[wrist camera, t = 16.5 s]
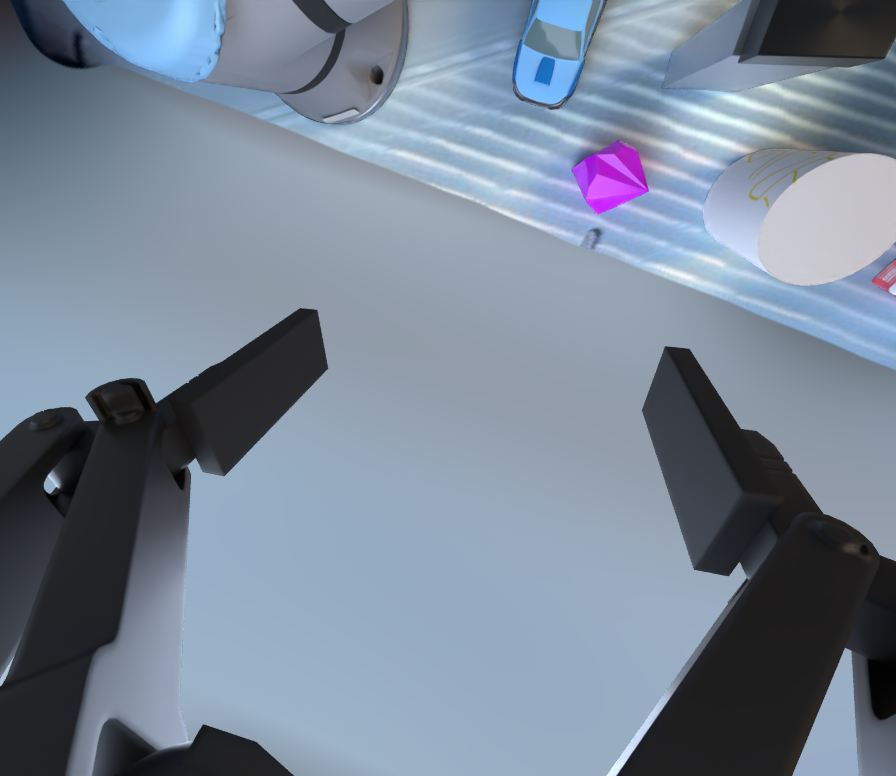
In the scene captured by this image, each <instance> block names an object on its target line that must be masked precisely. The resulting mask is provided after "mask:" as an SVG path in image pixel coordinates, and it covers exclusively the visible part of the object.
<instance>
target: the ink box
mask: <svg viewBox="0 0 896 776" xmlns="http://www.w3.org/2000/svg"><path fill="white" fill-rule="evenodd" d="M872 283H873V284H875V285H877V286H878V287H880V288H882V289H883V290H885V291H887V292H889V293H891V294H892V295H894V296H896V259H895V260H894V261H893V262H891V263H890V264H889V265H888V266H887V267H886V268H885V269H884V270H883V271H881V272H880V273H879V274H878V275H877V276H876V277H875V278H874V279H873V280H872Z"/></svg>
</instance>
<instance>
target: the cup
mask: <svg viewBox="0 0 896 776" xmlns="http://www.w3.org/2000/svg"><path fill="white" fill-rule="evenodd" d="M703 221H704V225H705V228H706V230H707V232H708V233H709V234H710V236H711V237H712V238H713V239H715V240H716V241H718V242H719V243H721V244H722V245H724V246H725V247H727V248H729V249H730V250H732V251H733V252H735V253H737V254H738V255H740V256H741V257H743V258H744V259H746V260H748V261H749V262H751V263H752V264H754V265H756V266H757V267H759V268H760V269H762V270H763V271H765V272H767V273H768V274H770V275H771V276H773V277H775V278H776V279H778V280H780V281H782V282H785V283H788V284H793V285H801V286H810V285H820V284H825V283H829V282H833V281H836V280H839V279H842V278H845V277H847V276H849V275H851V274H854V273H856V272H857V271H859V270H861V269H863V268H864V267H866V266H868V265H869V264H871V263H872V262H873V261H875V260H876V259H877V258H879V257H880V256H881V255H882V254H883V253H884V252H886V251H887V250H888V249H889V248H890V247H891V246H892V245H893V243H894V242H895V241H896V159H894V158H891V157H889V156H885V155H881V154H873V153H853V152H833V151H812V150H792V149H765V150H760V151H757V152H754V153H751V154H749V155H746V156H744V157H743V158H741V159H739V160H737V161H736V162H734V163H733V164H732V165H730V166H729V167H728V168H727V169H726V170H725V171H724V172H723V173H722V174H721V175H720V176H719V177H718V178H717V179H716V181H715V182H714V184H713V185H712V187H711V188H710V190H709V192H708V194H707V197H706V200H705V203H704V208H703Z"/></svg>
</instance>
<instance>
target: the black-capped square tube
mask: <svg viewBox="0 0 896 776" xmlns="http://www.w3.org/2000/svg"><path fill="white" fill-rule="evenodd" d="M895 38H896V0H742V1H741V2H739V3H738V4H737V5H735V6H734V7H733V8H731V9H730V10H728V11H727V12H726V13H724V14H723V15H722V16H720V17H719V18H717V19H716V20H715V21H713V22H712V23H711V24H709V25H708V26H706V27H705V28H704V29H702V30H701V31H700V32H698V33H697V34H695V35H694V36H693V37H691V38H690V39H689V40H687V41H686V42H685V43H683V44H682V45H680V46H679V47H678V48H676V49H675V50H674V51H672V54H671V58H670V61H669V65H668V68H667V72H666V75H665V78H664V82H663V85H662V88H669V89H691V90H714V91H737V92H738V91H742V90H746V89H750V88H754V87H758V86H762V85H766V84H770V83H774V82H778V81H782V80H786V79H789V78H793V77H797V76H801V75H805V74H809V73H813V72H817V71H821V70H825V69H829V68H833V67H853V66H857V65H861V64H865V63H869V62H874V61H878V60H882V59H884V58H885V57H886V55H887V53H888V51H889V50H890V48H891V46H892V44H893V42H894V40H895Z"/></svg>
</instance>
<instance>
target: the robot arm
mask: <svg viewBox="0 0 896 776" xmlns="http://www.w3.org/2000/svg"><path fill="white" fill-rule="evenodd" d="M62 1H63V2H64V3H65V4H66V6H67V7H68V8H69V10H70V11H71V12H72V13H73V14H74V16H75V17H76V18H77V19H78V20H79V21H80V23H81V24H82V25H83V26H84V27H85V28H86V29H87V30H88V31H89V32H90V33H91V34H92V35H93V36H94V37H95V38H96V39H98V40H99V41H100V42H101V43H102V44H103V45H104V46H106V47H107V48H109V49H110V50H113V51H114V52H115V53H116V54H117V55H119V56H121V57H123V58H124V59H126V60H127V61H128V62H130V63H132V64H134V65H137V66H139V67H141V68H144V69H147V70H151V71H154V72H157V73H160V74H163V75H166V76H170V77H171V78H173V79H176V80H181V81H184V82H192V83H193V82H196V81H200V82H207V83H213V84H220V85H227V86H234V87H240V88H247V89H254V90H261V91H267V92H274V93H275V94H276V95H277V96H279V97H280V98H281V99H282V100H283V101H284V102H285V103H286V104H287V105H288V106H290V107H291V108H292V109H293V110H295V111H296V112H298V113H299V114H301V115H303V116H305V117H306V118H309V119H311V120H314V121H317V122H320V123H326V124H351V123H355V122H358V121H361V120H363V119H365V118H367V117H369V116H370V115H371V114H373V113H374V112H375V111H377V110H378V109H379V108H380V107H381V106H382V105H383V104H384V102H385V101H386V100H387V98H388V97H389V96H390V94H391V93H392V91H393V89H394V87H395V85H396V83H397V81H398V79H399V76H400V73H401V71H402V67H403V64H404V60H405V55H406V50H407V42H408V9H407V1H406V0H62ZM327 369H328V365H327V360H326V354H325V349H324V343H323V338H322V333H321V327H320V322H319V317H318V312H317V310H313V309H302V308H300V309H298V310H297V311H295V312H294V313H292V314H291V315H290V316H288V317H287V318H285V319H284V320H282V321H281V322H279V323H278V324H276V325H275V326H273V327H272V328H270V329H269V330H268V331H266V332H265V333H263V334H262V335H260V336H259V337H257V338H256V339H255V340H253V341H252V342H250V343H249V344H247V345H246V346H244V347H243V348H241V349H240V350H238V351H237V352H236V353H234V354H233V355H231V356H230V357H228V358H227V359H226V360H224V361H222V362H220V363H218V364H216V365H213V366H211V367H209V368H208V369H206V370H205V371H203V372H202V373H200V374H199V376H196V377H194V378H193V379H191V380H190V381H189V383H186V384H184V385H183V386H181V387H180V388H178V389H177V390H175V391H174V392H172V393H171V394H169V395H168V396H166V397H165V398H163V399H162V400H160V401H159V402H158V403H155V401H154V399H153V397H152V395H151V393H150V391H149V389H148V387H147V385H146V383H145V381H143V380H141V379H137V378H127V379H120V380H116V381H112V382H109V383H106V384H104V385H101V386H99V387H97V388H95V389H94V390H92V391H91V392H89V393H88V395H87V396H86V397H85V398H86V400H87V402H88V403H89V405H90V406H91V408H92V409H93V411H94V413H95V414H96V416H97V418H98V419H99V421H84V420H83V419H82V417H81V416H80V414H79V413H78V411H77V410H76V409H74V408H71V407H60V408H55V409H48V410H44V412H43V411H41V412H38V413H36V414H35V415H33V416H31V417H29V418H27V419H25V420H24V421H23V422H21V423H20V424H18V425H17V426H16V427H15V428H14V429H13V430H12V431H11V432H10V433H9V434H7V435H6V436H5V437H4V438H3V439H2V440H1V441H0V678H1V676H2V674H3V673H4V671H5V669H6V668H7V666H8V665H9V663H10V661H11V660H12V658H13V657H14V659H13V661H12V664H11V667H10V669H9V672H8V675H7V677H6V679H5V681H4V683H3V684H2V686H0V776H294V775H293V774H291V773H290V772H289V771H288V770H287V769H286V768H285V767H284V766H282V765H281V764H280V763H279V762H278V761H277V760H276V759H275V758H274V757H272V756H271V755H270V754H269V753H268V752H267V751H266V750H264V749H263V748H262V747H261V746H260V745H259V744H258V743H257V742H255V741H252V740H249V739H246V738H243V737H240V736H237V735H234V734H231V733H228V732H225V731H222V730H219V729H216V728H213V727H210V726H207V725H202V727H201V729H200V730H199V732H198V734H197V735H196V737H195V739H194V741H190V742H188V736H187V729H186V725H185V722H184V719H183V715H182V712H181V705H180V688H181V668H182V648H183V627H184V607H185V586H186V566H187V545H188V544H187V543H188V524H189V504H190V484H191V474H190V470H189V469H188V466H187V465H188V464H189V463H191V462H192V461H193V460H194V459H195V458H196V459H197V461H198V463H199V465H200V467H201V469H202V471H203V472H205V473H210V474H215V475H220V476H225V475H226V474H227V473H228V472H229V471H230V470H231V469H232V468H233V467H234V466H235V465H236V464H237V463H238V462H239V461H240V460H241V459H242V458H243V457H244V455H245V454H246V453H247V452H248V451H249V450H250V449H251V448H252V447H253V446H254V445H255V444H256V443H257V442H258V441H259V440H260V439H261V438H262V437H263V436H264V435H265V434H266V433H267V431H268V430H269V429H270V428H271V427H272V426H273V425H274V424H275V423H276V422H277V421H278V420H279V419H280V418H281V417H282V416H283V415H284V414H285V413H286V412H287V411H288V410H289V408H290V407H292V406H293V404H295V402H296V401H297V400H298V399H299V398H300V397H301V396H302V395H303V394H304V393H305V392H306V391H307V390H308V389H309V388H310V387H311V386H312V385H313V384H314V383H315V382H316V381H317V380H318V379H319V377H320V376H321V375H322V374H323V373H324V372H325V371H326V370H327ZM642 412H643V415H644V418H645V421H646V424H647V427H648V430H649V433H650V437H651V439H652V443H653V446H654V449H655V452H656V455H657V458H658V461H659V464H660V467H661V470H662V473H663V476H664V479H665V483H666V486H667V489H668V492H669V495H670V498H671V501H672V504H673V507H674V510H675V513H676V516H677V519H678V522H679V525H680V529H681V532H682V535H683V538H684V541H685V544H686V547H687V550H688V553H689V556H690V559H691V562H692V565H693V568H694V570H699V571H704V572H709V573H714V574H719V575H724V576H729V575H730V574H731V573H732V571H733V570H734V568H735V567H736V566H737V564H738V563H739V562H740V563H741V565H742V567H743V570H744V572H745V574H746V577H747V578H746V580H745V581H744V582H743V584H742V585H741V586H740V587H739V589H738V590H737V591H736V593H735V594H734V595H733V596H732V598H731V599H730V600H729V601H728V605H727V606H726V607H725V609H724V610H723V612H722V613H721V615H720V616H719V617H718V619H717V620H716V622H715V623H714V624H713V626H712V627H711V629H710V630H709V631H708V633H707V634H706V636H705V637H704V639H703V640H702V642H701V643H700V644H699V646H698V647H697V649H696V650H695V651H694V653H693V654H692V656H691V657H690V658H689V660H688V661H687V663H686V664H685V666H684V667H683V668H682V670H681V671H680V673H679V674H678V675H677V677H676V678H675V680H674V681H673V683H672V684H671V685H670V687H669V688H668V690H667V691H666V692H665V694H664V695H663V697H662V698H661V700H660V701H659V702H658V704H657V705H656V707H655V708H654V709H653V711H652V712H651V714H650V715H649V717H648V718H647V719H646V721H645V722H644V724H643V725H642V726H641V728H640V729H639V731H638V732H637V734H636V735H635V736H634V738H633V739H632V741H631V742H630V743H629V745H628V747H627V748H626V749H625V751H624V752H623V754H622V755H621V757H620V758H619V759H618V760H617V762H616V764H615V765H614V766H613V768H612V769H611V770H610V772H609V773H608V775H607V776H792V775H793V772H794V770H795V767H796V765H797V762H798V760H799V758H800V755H801V753H802V750H803V747H804V745H805V743H806V740H807V738H808V736H809V733H810V731H811V728H812V726H813V724H814V721H815V719H816V716H817V714H818V712H819V709H820V707H821V704H822V702H823V699H824V697H825V695H826V692H827V690H828V687H829V685H830V682H831V680H832V678H833V675H834V673H835V670H836V668H837V666H838V663H839V661H840V658H841V656H842V653H843V651H844V649H845V648H847V649H849V650H851V651H852V665H853V683H854V701H855V718H856V736H857V753H858V769H859V776H896V561H894V560H891V559H888V558H885V557H883V556H881V555H879V553H878V552H877V550H876V549H875V547H874V546H873V544H872V543H871V542H870V541H869V540H868V539H867V538H866V537H865V536H864V535H863V534H861V533H860V532H859V531H857V530H856V529H854V528H853V527H851V526H850V525H848V524H846V523H845V522H843V521H841V520H838V519H836V518H833V517H831V516H829V515H825V514H823V512H822V511H821V510H820V508H819V507H818V506H817V504H816V503H815V501H814V500H813V498H812V497H811V496H810V494H809V493H808V492H807V490H806V489H805V487H804V486H803V485H802V483H801V482H800V480H799V479H798V478H797V476H796V475H795V474H793V473H792V469H791V468H790V467H789V465H788V464H787V462H785V461H784V458H783V457H782V455H781V454H780V452H779V451H778V450H777V448H776V447H775V446H774V444H772V443H771V442H770V441H769V440H767V439H766V438H765V437H764V436H762V435H761V434H759V433H758V432H757V431H752V430H744V429H741V428H740V427H739V425H738V424H737V422H736V421H735V419H734V418H733V416H732V414H731V413H730V411H729V410H728V408H727V407H726V405H725V404H724V402H723V401H722V399H721V397H720V396H719V394H718V393H717V391H716V390H715V388H714V387H713V385H712V383H711V382H710V380H709V379H708V377H707V376H706V374H705V372H704V371H703V369H702V368H701V366H700V365H699V363H698V361H697V360H696V358H695V357H694V355H693V354H692V352H691V351H690V349H686V348H677V347H667V346H666V347H665V348H664V351H663V354H662V357H661V359H660V362H659V365H658V368H657V371H656V373H655V376H654V379H653V381H652V384H651V387H650V390H649V392H648V395H647V398H646V401H645V403H644V406H643V409H642ZM47 476H49V478H50V479H51V480H52V482H53V483H54V484H55V485H56V488H55V489H54V490H53V492H52V493H51V494H49V493H47V492H46V491H45V490H44V481H45V479H46V477H47ZM14 655H15V656H14Z"/></svg>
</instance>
